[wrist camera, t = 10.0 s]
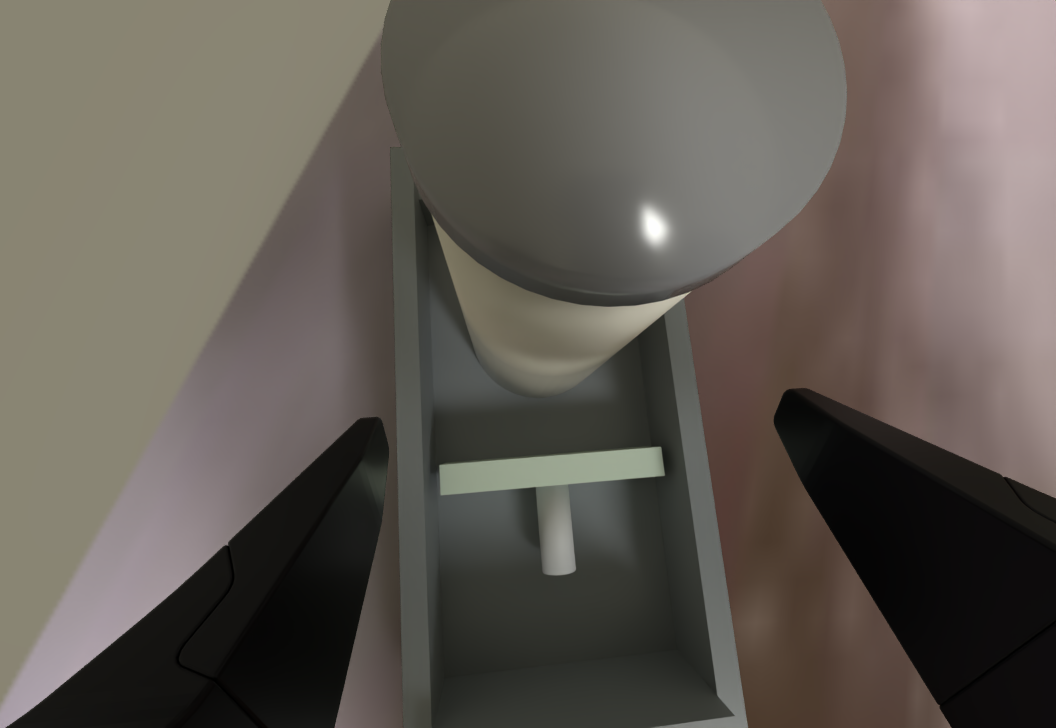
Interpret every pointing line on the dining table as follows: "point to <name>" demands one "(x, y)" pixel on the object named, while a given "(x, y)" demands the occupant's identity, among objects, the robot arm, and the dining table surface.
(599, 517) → the pusher lane
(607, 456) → the spring pusher
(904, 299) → the dining table surface
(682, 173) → the jar
